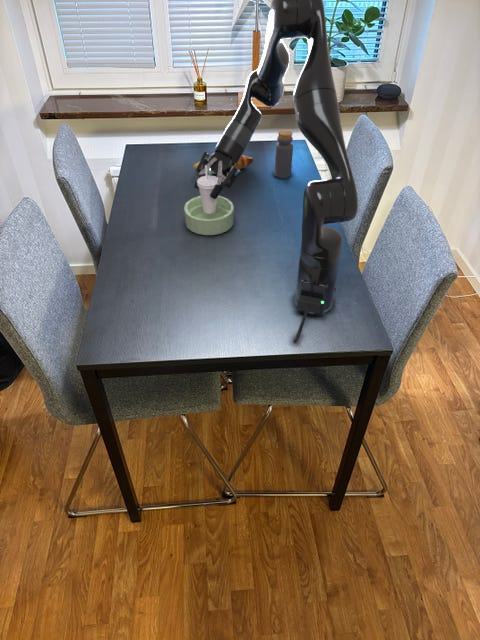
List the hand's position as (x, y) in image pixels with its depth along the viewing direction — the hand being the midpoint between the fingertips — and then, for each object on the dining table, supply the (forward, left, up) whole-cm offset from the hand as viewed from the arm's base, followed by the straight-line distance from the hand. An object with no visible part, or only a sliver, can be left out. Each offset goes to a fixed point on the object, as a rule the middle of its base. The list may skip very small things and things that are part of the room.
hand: (204, 193), depth 146 cm
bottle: (+38, -15, -11) cm, 42 cm away
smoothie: (+1, -1, -7) cm, 7 cm away
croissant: (+36, +6, -11) cm, 39 cm away
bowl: (+1, -1, -11) cm, 11 cm away
